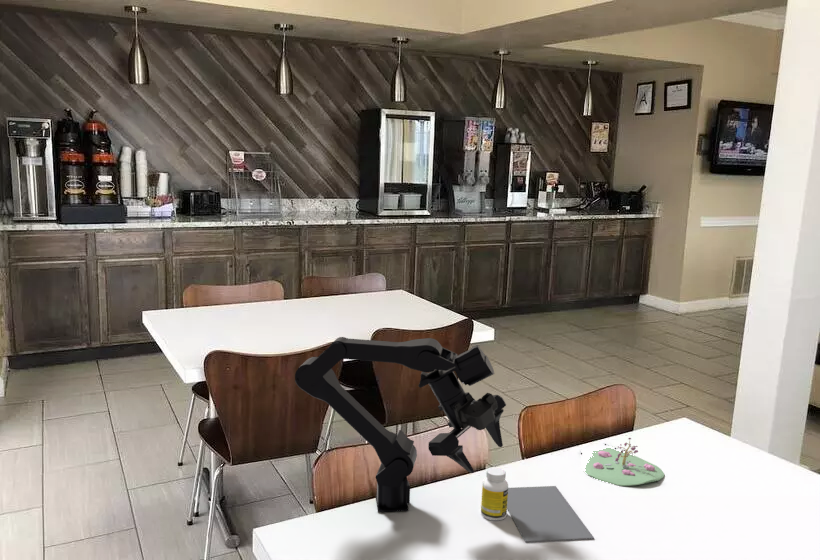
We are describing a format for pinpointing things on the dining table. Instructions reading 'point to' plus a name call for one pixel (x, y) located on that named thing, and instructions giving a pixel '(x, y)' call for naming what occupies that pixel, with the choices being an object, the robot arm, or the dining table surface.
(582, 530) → the mat
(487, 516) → the supplement bottle
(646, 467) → the plant
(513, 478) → the dining table surface
